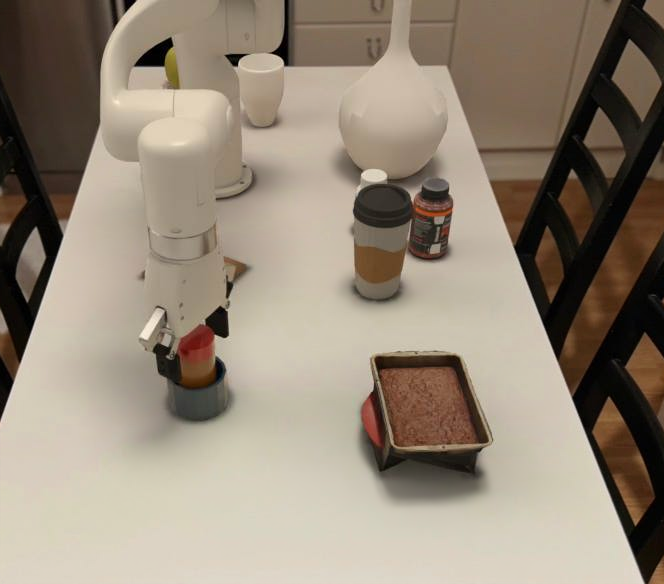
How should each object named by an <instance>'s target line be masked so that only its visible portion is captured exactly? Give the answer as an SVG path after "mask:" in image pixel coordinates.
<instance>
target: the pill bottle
mask: <svg viewBox="0 0 664 584" xmlns="http://www.w3.org/2000/svg"><path fill="white" fill-rule="evenodd" d="M373 184H388V179H387V174H386V173H385V172H384V171H382V170H379V169H369V170H366V171H362V172H361V174H360V184H359V185H358V186H357V187H356V189H355V195H354V196H355V197H354V200H355V199H356V198H357V196H358V193H359V191H360V190H361V189H363V188H364V187H366V186H369V185H373Z"/></svg>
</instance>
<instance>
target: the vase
mask: <svg viewBox="0 0 664 584" xmlns="http://www.w3.org/2000/svg"><path fill="white" fill-rule="evenodd" d="M412 3H413V0H393V6H392V14H391V23H390V24H391V25H390V38H389V44H388V47H387V49H386V51H385V52H384V54H383V56H382V57H381V58H380V59H379V60H377V62H376V63H375V64H374V65H372V66H371V68H370V69H369V70H367V72H366V73H364V74H363V75H362V76H361V77H360V78H359V79H358V80H356V81H355V82H354V83H353V84H352V85H351V86H349V87H348V88H347V89H346V90H345V91H344V93H343V94H342V98H341V101H340V104H339V109H338V129H339V132H340V135H341V138H342V139H341V140H342V142H343V145H344V148H345V150H346V152H347V154H348V155H349V157H350V158H351V160H352V161H353V163H354V164H355V165H356V166H357V167H358V168H359V169H361V170H362V172H364V171H366V170H369V169H379V170H382V171H384V172H385V173H386V174H387V180H401V179H405V178H409V177H410V176H413V175H414V174H416V173H417V172H419V171H421V169H422V168H424V167H425V166H426V165H427V164H428V163H429V162H430V161H431V159H432V158H434V155H435V154H436V153H437V151H438V148H439V146H440V144H441V142H442V140H443V138H444V136H445V134H446V132H447V130H448V129H447V128H448V122H449V114H448V103H447V98H446V97H445V95H444V94H443V92H442V91H441V90H440V89H439V88H438V87H437V85H436V84H434V82H433V81H432V80H431V79H430V78H429V77H428V75H427V74H426V73H425V72H424V71H423V69H422V68H421V67H420V65H419V63H417V62H416V60H415V59H414V57H413V55H412V52H411V50H410V44H409V42H410V29H411V19H412V18H411V17H412Z"/></svg>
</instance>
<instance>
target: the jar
mask: <svg viewBox="0 0 664 584" xmlns="http://www.w3.org/2000/svg"><path fill="white" fill-rule="evenodd" d="M215 336H216V335H214V332H213V330H212V329H211V328H210V327H208V326H206V325H205V324H204V323H200V324H199V325H198V326H197V327H196V328H195V329H194V330H192V331H191V332H190V333H189V334H187V335H186V336H184V337H182V338H181V340H180V343H179V346H178V348H177V351H176V353H177V354H179V356H180V363H181V372H182V380H181V381H180V382H179V383H177V385H178V386H180V387H183V388H186V389H201V388H206V387H209V386H211V385H213V384H215V383H216V382H217V374H216V360H215V356H216V337H215ZM171 337H172V336H170V338H171Z"/></svg>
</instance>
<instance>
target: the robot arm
mask: <svg viewBox="0 0 664 584" xmlns="http://www.w3.org/2000/svg"><path fill="white" fill-rule="evenodd" d="M284 31H285V0H135V2H134V3H133V4H132V5H131V6H130V7H129V8H128V9H127V11H125V13H124V15H122V17H121V18H120V20H119V21H118V22H117V24H116V25H115V27H114V29H113V31H112V32H111V34H110V36H109V38H108V40H107V42H106V45H105V48H104V51H103V55H102V58H101V65H100V79H99V80H100V81H99V82H100V93H99V97H100V98H99V99H100V100H99V108H100V109H99V118H100V119H99V121H100V122H99V123H100V132H101V138H102V141H103V144H104V147H105V149H106V151H107V152H108V154H110V156H112V157H113V158H114V159H116V160H117V161H122V162H126V163H139V170H140V179H141V185H142V186H141V187H142V195H143V203H144V210H145V218H146V225H147V235H148V242H149V250H150V251H149V252H148V254H146V259H145V267H144V268H145V269H144V271H145V278H144V302H145V304H144V305H145V315H146V321H147V323H146V325H145V326H144V328H143V329H142V331H141V332H140V335H139V337H138V342H139V344H140V345H141V346H142V347H143V348H144V351H147V352H149V353H152V354H153V355H155V361H156V371H157V374H158V375H159V376H161V377H163V378H165V379H166V378H168V379H170V380H172V381H175V382H177V383H179V382H180V381H181V380H182V372H181V363H180V356H179V354H177V353H176V351H177V348H178V346H179V343H180V340H181V338H182V337H184V336H186V335H187V334H189V333H190V332H191V331H192V330H194V329H195V328H196V327H197V326H198V325H199V324H203V322H204V325H206V326H208V327H210V328H211V329H212V330H213V332H214V335H215V336H217V337H219V338H221V339H227V338H228V337H229V336H230V327H229V311H228V310H229V308H230V307H231V300H230V299H229V298H230V295H231V293H232V291H233V289H234V283H233V281H234V280H233V278H234V273H235V269H236V266H235V265H233V264H230V263H227V262H224V258H223V256H224V253H223V252H224V251H223V248H222V243H221V240H220V237H219V232H218V218H217V217H218V216H217V201H216V200H217V199H221V198H223V199H224V198H229V197H233V196H235V195H238V194H241V193H242V192H244V191H245V190H246V189H248V188H249V186H251V184H252V182H253V171H252V169H251V168H250V166H249V165H248V164H247V163H245V162H244V161H243V141H242V139H243V137H242V114H241V113H242V111H241V95H240V84H239V76H238V73H237V71H236V69H235V67H234V65H233V64H232V63H231V62H230V60H229V59H228V58H227V55H250V54H262V53H268V54H271V53H272V52H274V51H276V50H277V49H278V48H279V47H280V46H281V44H282V41H283V38H284V33H285V32H284ZM170 38H171V41H172V45H173V46H172V47H174V50H175V55H176V60H177V67H178V75H179V85H180V90H176V89H174V88H143V89H142V88H140V89H139V88H137V89H136V88H135V89H129V82H130V81H129V80H130V76H131V72H132V70H133V68H134V67H135V65H136V63H137V62H138V61H139V59H140V58H142V56H143V55H145V54H146V53H147V52H148V51H149V50H151V49H152V48H154V47H155V46H156V45H158V44H160V43H162V42H164V41H166V40H168V39H170ZM167 325H168V327H167ZM165 335H168V336H170V341H169V344H168V346H167V345H164V344H163V341H164V338H165ZM171 336H172V337H171Z"/></svg>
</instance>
